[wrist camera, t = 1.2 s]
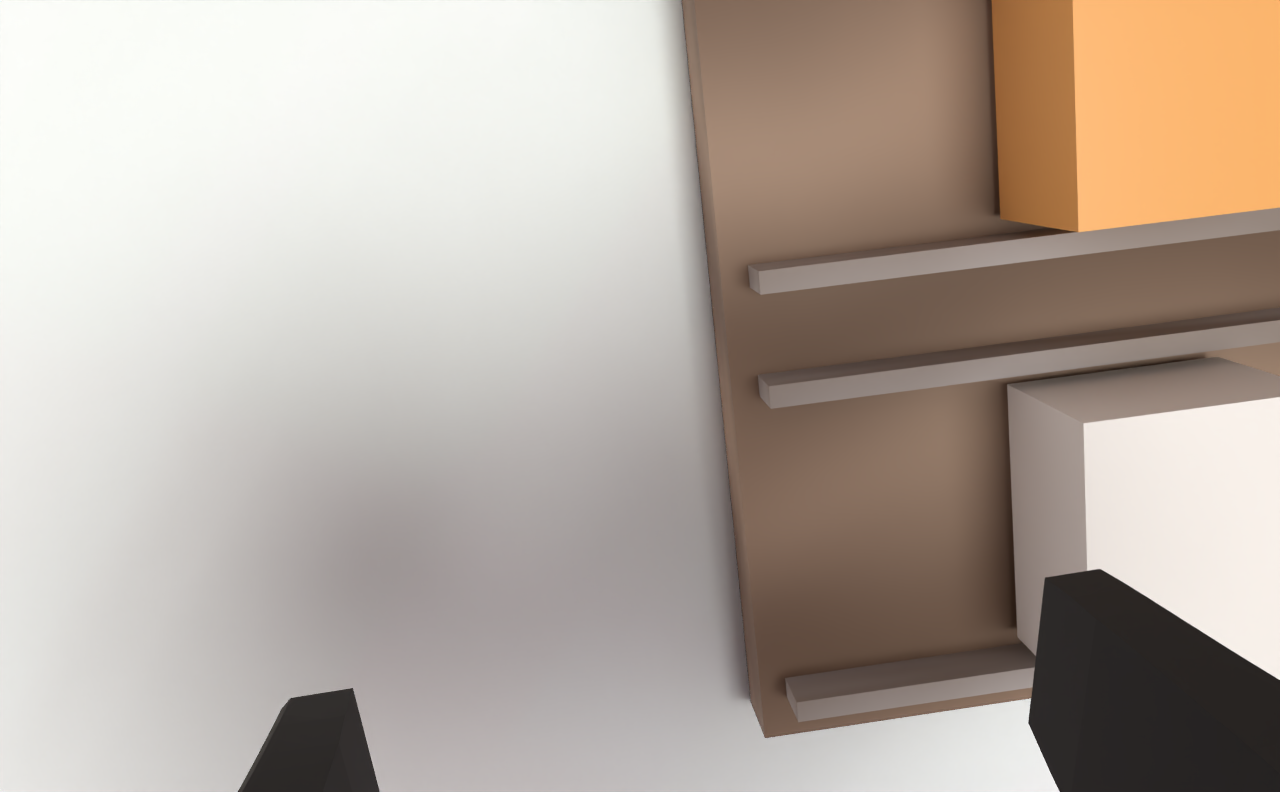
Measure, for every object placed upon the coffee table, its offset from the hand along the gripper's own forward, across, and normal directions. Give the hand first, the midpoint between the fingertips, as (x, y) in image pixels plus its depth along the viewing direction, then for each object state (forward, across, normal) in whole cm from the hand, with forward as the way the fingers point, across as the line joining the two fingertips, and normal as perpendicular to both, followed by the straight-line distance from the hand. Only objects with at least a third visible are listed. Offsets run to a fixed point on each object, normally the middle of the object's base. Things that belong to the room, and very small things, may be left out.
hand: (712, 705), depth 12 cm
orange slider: (+10, -9, -3) cm, 14 cm away
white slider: (+8, -9, +4) cm, 13 cm away
